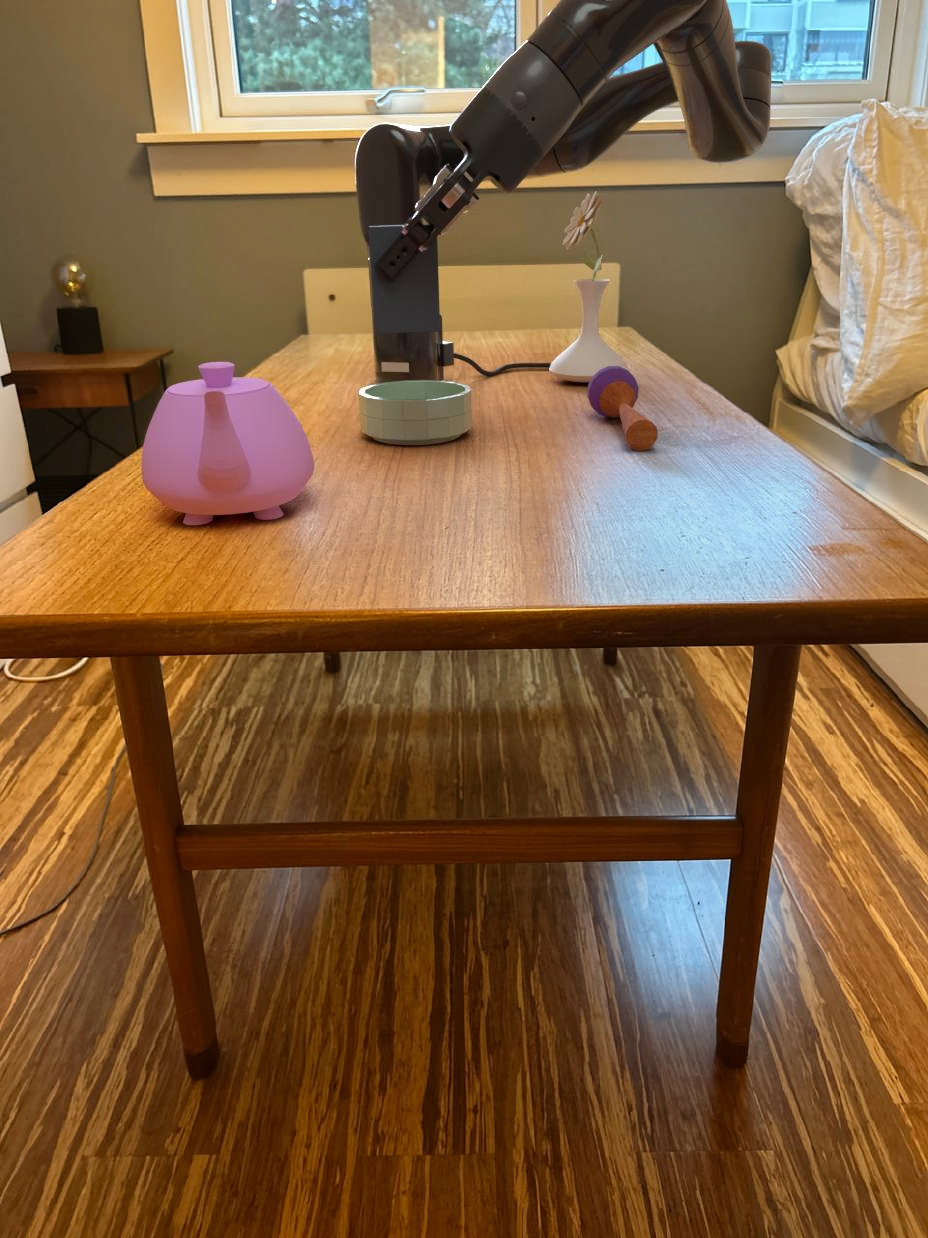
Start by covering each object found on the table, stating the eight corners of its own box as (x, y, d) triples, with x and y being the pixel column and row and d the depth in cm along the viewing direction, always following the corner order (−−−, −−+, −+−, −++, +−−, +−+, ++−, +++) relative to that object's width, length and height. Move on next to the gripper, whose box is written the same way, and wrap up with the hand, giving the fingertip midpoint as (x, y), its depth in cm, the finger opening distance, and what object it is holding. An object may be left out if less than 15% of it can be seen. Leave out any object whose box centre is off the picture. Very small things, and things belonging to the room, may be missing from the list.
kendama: (609, 413, 91) (580, 366, 109) (616, 468, 94) (587, 414, 112) (667, 401, 91) (629, 356, 108) (673, 456, 94) (635, 404, 111)
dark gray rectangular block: (375, 329, 85) (369, 225, 81) (439, 327, 85) (435, 223, 82) (374, 333, 82) (368, 226, 79) (440, 331, 83) (436, 224, 79)
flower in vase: (550, 374, 137) (554, 192, 127) (626, 374, 136) (636, 190, 125) (546, 390, 125) (549, 191, 115) (629, 390, 124) (640, 189, 113)
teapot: (325, 542, 69) (311, 381, 64) (133, 558, 67) (103, 392, 62) (312, 474, 87) (300, 344, 82) (160, 485, 85) (138, 351, 80)
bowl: (416, 418, 110) (415, 376, 108) (493, 432, 102) (493, 387, 100) (339, 436, 102) (335, 391, 100) (416, 453, 94) (414, 405, 92)
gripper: (558, 148, 72) (413, 312, 77) (535, 157, 85) (411, 298, 89) (492, 72, 70) (346, 247, 74) (478, 93, 83) (354, 241, 87)
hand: (382, 274), depth 82 cm, fingers closed on dark gray rectangular block, 3 cm apart
